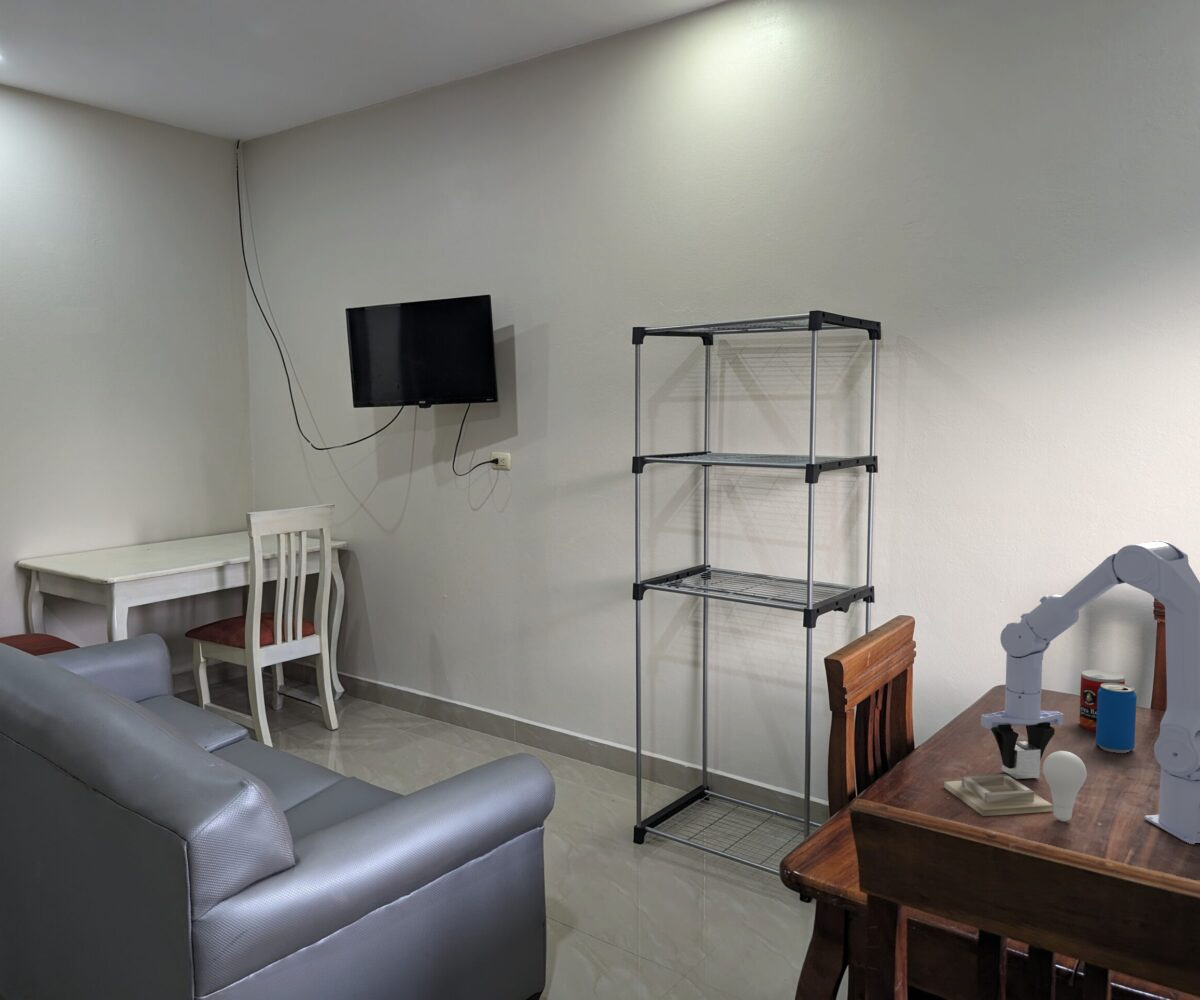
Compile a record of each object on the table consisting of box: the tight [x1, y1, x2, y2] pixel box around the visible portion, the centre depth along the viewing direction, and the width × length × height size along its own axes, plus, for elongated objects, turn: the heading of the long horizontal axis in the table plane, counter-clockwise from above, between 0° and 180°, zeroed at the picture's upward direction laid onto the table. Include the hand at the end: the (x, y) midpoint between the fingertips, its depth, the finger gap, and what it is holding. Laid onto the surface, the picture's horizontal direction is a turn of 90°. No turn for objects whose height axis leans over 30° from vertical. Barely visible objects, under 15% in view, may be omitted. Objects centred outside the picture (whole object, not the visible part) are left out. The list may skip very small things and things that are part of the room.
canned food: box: [1078, 669, 1126, 732], centre depth 192 cm, size 8×8×11 cm
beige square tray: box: [943, 773, 1054, 817], centre depth 156 cm, size 12×12×2 cm
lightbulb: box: [1042, 750, 1087, 822], centre depth 147 cm, size 6×6×11 cm
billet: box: [1001, 740, 1041, 780], centre depth 166 cm, size 4×4×5 cm
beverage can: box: [1095, 683, 1138, 754], centre depth 179 cm, size 6×6×12 cm
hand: (1020, 765), depth 166 cm, fingers closed on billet, 4 cm apart
